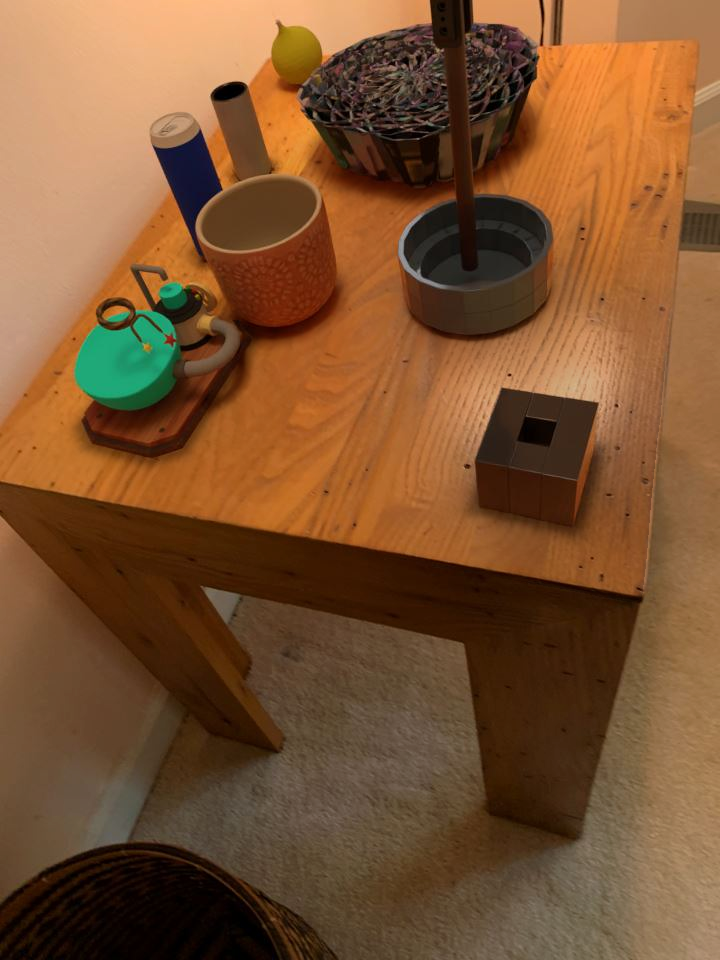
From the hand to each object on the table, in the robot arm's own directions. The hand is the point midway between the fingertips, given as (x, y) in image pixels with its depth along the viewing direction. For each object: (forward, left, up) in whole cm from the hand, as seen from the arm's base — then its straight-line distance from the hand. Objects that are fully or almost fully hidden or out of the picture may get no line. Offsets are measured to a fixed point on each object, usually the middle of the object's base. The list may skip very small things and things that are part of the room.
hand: (454, 36), depth 55 cm
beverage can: (+30, -2, -24) cm, 39 cm away
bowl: (-1, 0, -24) cm, 24 cm away
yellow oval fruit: (+36, -39, -24) cm, 58 cm away
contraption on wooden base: (+24, +18, -24) cm, 39 cm away
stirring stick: (0, 0, -21) cm, 21 cm away
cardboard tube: (+33, -17, -24) cm, 45 cm away
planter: (+18, +5, -24) cm, 31 cm away
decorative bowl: (+13, -25, -24) cm, 37 cm away
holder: (-12, +21, -24) cm, 34 cm away
